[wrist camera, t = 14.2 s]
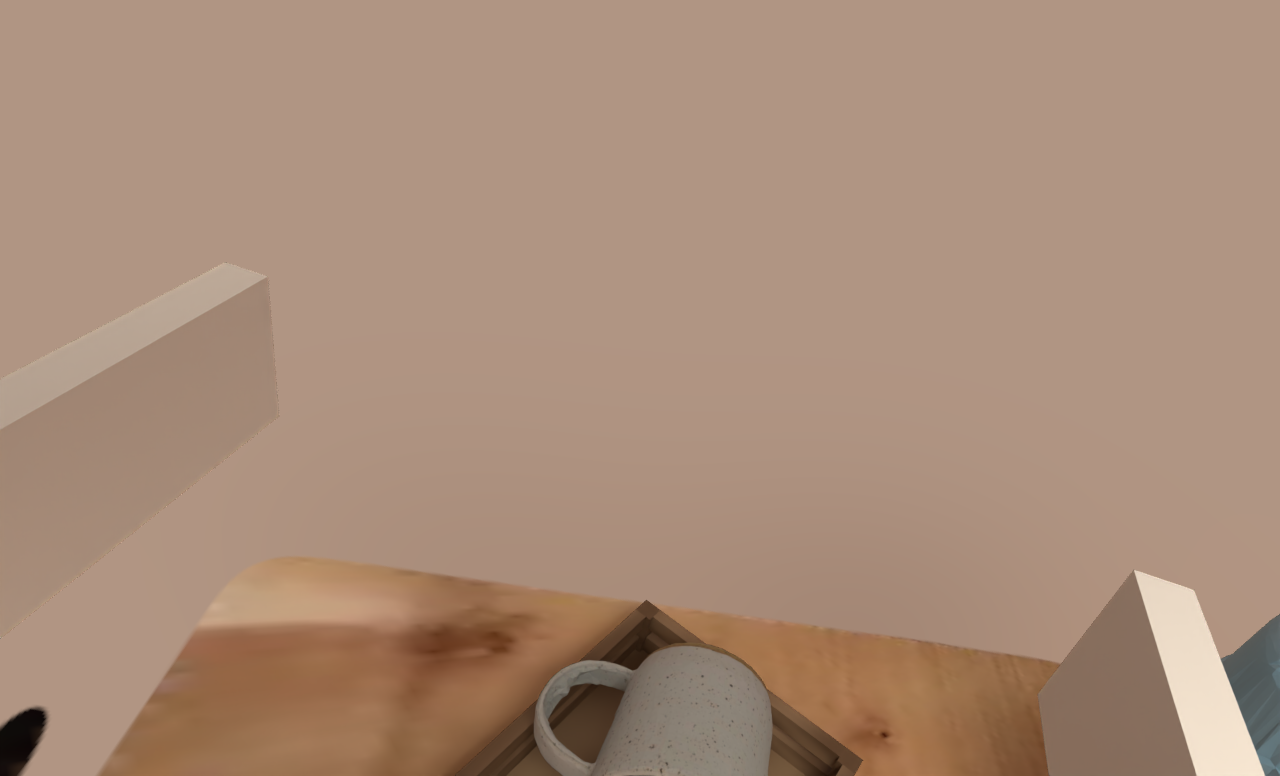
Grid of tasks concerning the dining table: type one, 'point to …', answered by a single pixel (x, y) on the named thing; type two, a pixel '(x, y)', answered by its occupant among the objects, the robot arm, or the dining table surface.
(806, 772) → the walnut crate
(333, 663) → the dining table surface
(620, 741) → the ceramic mug
